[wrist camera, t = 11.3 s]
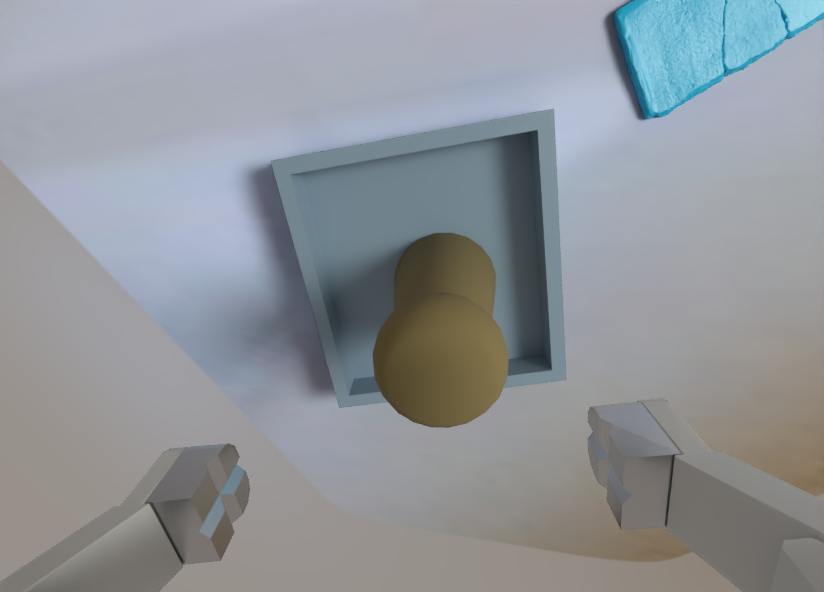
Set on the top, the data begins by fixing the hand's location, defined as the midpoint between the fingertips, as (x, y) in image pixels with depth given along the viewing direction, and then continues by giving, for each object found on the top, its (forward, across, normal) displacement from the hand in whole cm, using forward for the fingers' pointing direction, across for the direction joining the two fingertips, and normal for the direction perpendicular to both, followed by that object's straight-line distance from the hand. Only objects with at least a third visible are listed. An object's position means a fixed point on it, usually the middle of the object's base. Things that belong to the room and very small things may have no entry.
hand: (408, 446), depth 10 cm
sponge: (+18, -17, -9) cm, 26 cm away
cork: (+16, -1, +2) cm, 16 cm away
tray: (+16, 0, +1) cm, 17 cm away
